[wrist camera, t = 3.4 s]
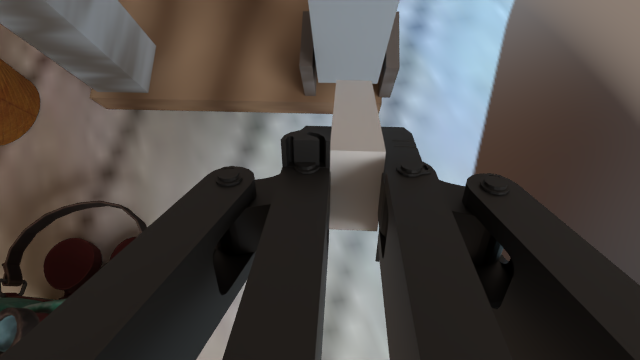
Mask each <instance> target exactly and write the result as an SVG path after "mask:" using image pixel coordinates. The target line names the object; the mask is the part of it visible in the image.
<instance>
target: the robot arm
mask: <svg viewBox="0 0 640 360" xmlns="http://www.w3.org/2000/svg"><path fill="white" fill-rule="evenodd" d="M281 149H282V164H283V167H282V170H281V173H280V174H279V175H276V176H274V177H269V178H264V179H258V180H255V178H254V174H253V172H251V171H250V170H249V169H246V168H243V167H235V166H229V167H223V168H221V169H218V170H215V171H213V172H211V173H210V174H208V175H207V176H206V177H204V178H203V179H202V180H201V181H200V182H199V183H198V184H196V185H195V186H194V187H193V188H192V189H191V190H190V191H189V192H187V193H186V194H185V195H184V196H183V197H182V198H181V199H179V200H178V201H177V202H176V203H175V204H174V205H173V206H172V207H170V208H169V209H168V210H167V211H166V212H165V213H164V214H162V215H161V216H160V217H159V218H158V219H157V220H156V221H154V222H153V223H152V224H151V225H150V226H149V227H148V228H147V229H145V230H144V231H143V232H142V233H141V234H140V235H139V236H137V237H136V238H135V239H134V240H133V241H132V242H131V243H130V244H128V245H127V246H126V247H125V248H124V249H123V250H122V251H120V252H119V253H118V254H117V255H116V256H115V257H114V258H112V259H111V260H110V261H109V262H108V263H107V264H106V265H105V266H103V267H102V268H101V269H100V270H99V271H98V272H97V273H95V274H94V275H93V276H92V277H91V278H90V279H89V280H88V281H86V282H85V283H84V284H83V285H82V286H81V287H80V288H78V289H77V290H76V291H75V292H74V293H73V294H72V295H71V296H69V297H68V298H67V299H66V300H65V301H64V302H63V303H61V304H60V305H59V306H58V307H57V308H56V309H55V310H53V311H52V312H51V313H50V314H49V315H48V316H47V317H46V318H44V319H43V320H42V321H41V322H40V323H39V324H38V325H36V326H35V327H34V328H33V329H32V330H31V331H30V332H29V333H27V334H26V335H25V336H24V337H23V338H22V339H21V340H19V341H18V342H17V343H16V344H15V345H14V346H13V347H11V348H10V349H9V350H8V351H7V352H6V353H5V354H4V355H2V356H1V357H0V360H196V359H197V357H198V356H199V354H200V352H201V351H202V349H203V348H204V346H205V345H206V343H207V341H208V340H209V338H210V337H211V335H212V334H213V332H214V330H215V329H216V327H217V326H218V324H219V323H220V321H221V319H222V318H223V316H224V315H225V313H226V312H227V310H228V308H229V307H230V305H231V304H232V302H233V301H234V299H235V297H236V296H237V294H238V293H239V291H240V290H241V288H242V286H243V285H244V283H245V282H246V280H247V282H246V286H245V289H244V292H243V295H242V298H241V302H240V305H239V308H238V311H237V315H236V318H235V321H234V324H233V327H232V331H231V334H230V337H229V340H228V343H227V347H226V350H225V353H224V356H223V359H222V360H321V355H322V339H323V323H324V308H325V292H326V276H327V261H328V245H329V229H339V230H362V231H377V227H378V221H379V236H378V244H377V253H376V261H378V262H379V260H380V269H381V279H382V289H383V298H384V308H385V318H386V328H387V337H388V347H389V357H390V360H640V285H638V284H637V283H636V282H635V281H634V280H633V279H631V278H630V277H629V276H628V275H626V274H625V273H624V272H623V271H622V270H620V269H619V268H618V267H617V266H616V265H614V264H613V263H612V262H611V261H609V260H608V259H607V258H606V257H605V256H604V255H602V254H601V253H600V252H599V251H598V250H596V249H595V248H594V247H593V246H591V245H590V244H589V243H588V242H587V241H586V240H584V239H583V238H582V237H581V236H579V235H578V234H577V233H576V232H575V231H573V230H572V229H571V228H570V227H569V226H567V225H566V224H565V223H564V222H563V221H561V220H560V219H559V218H558V217H557V216H555V215H554V214H553V213H552V212H550V211H549V210H548V209H547V208H546V207H544V206H543V205H542V204H541V203H539V202H538V201H537V200H536V199H535V198H533V197H532V196H531V195H530V194H529V193H528V192H526V191H525V190H524V189H523V188H522V187H520V186H519V185H518V184H516V183H515V182H513V181H511V180H510V179H507V178H505V177H502V176H501V175H497V174H495V175H494V174H490V173H488V174H476V175H472V176H471V177H469V178H468V179H467V182H466V186H460V185H455V184H450V183H447V182H443V181H441V180H439V179H438V177H437V174H436V172H435V170H434V169H433V168H432V167H431V166H430V165H428V164H426V163H424V162H422V160H421V157H420V155H419V152H418V149H417V148H416V144H415V142H414V138H413V136H412V133H410V132H409V131H408V130H406V129H405V128H404V127H381V125H380V120H379V115H378V110H377V105H376V100H375V95H374V90H373V85H372V81H361V80H336V89H335V99H334V109H333V120H332V127H328V126H305V127H304V128H303V129H301V130H300V131H295V132H290V133H288V134H286V135H284V136H283V138H282V139H281ZM503 248H504V249H505V250H506V251H507V253H508V254H509V256H510V257H511V259H510V261H509V262H508V261H507V260H506V259H505V258H504V257H503V255H502V254H501V253H502V251H503Z"/></svg>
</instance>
